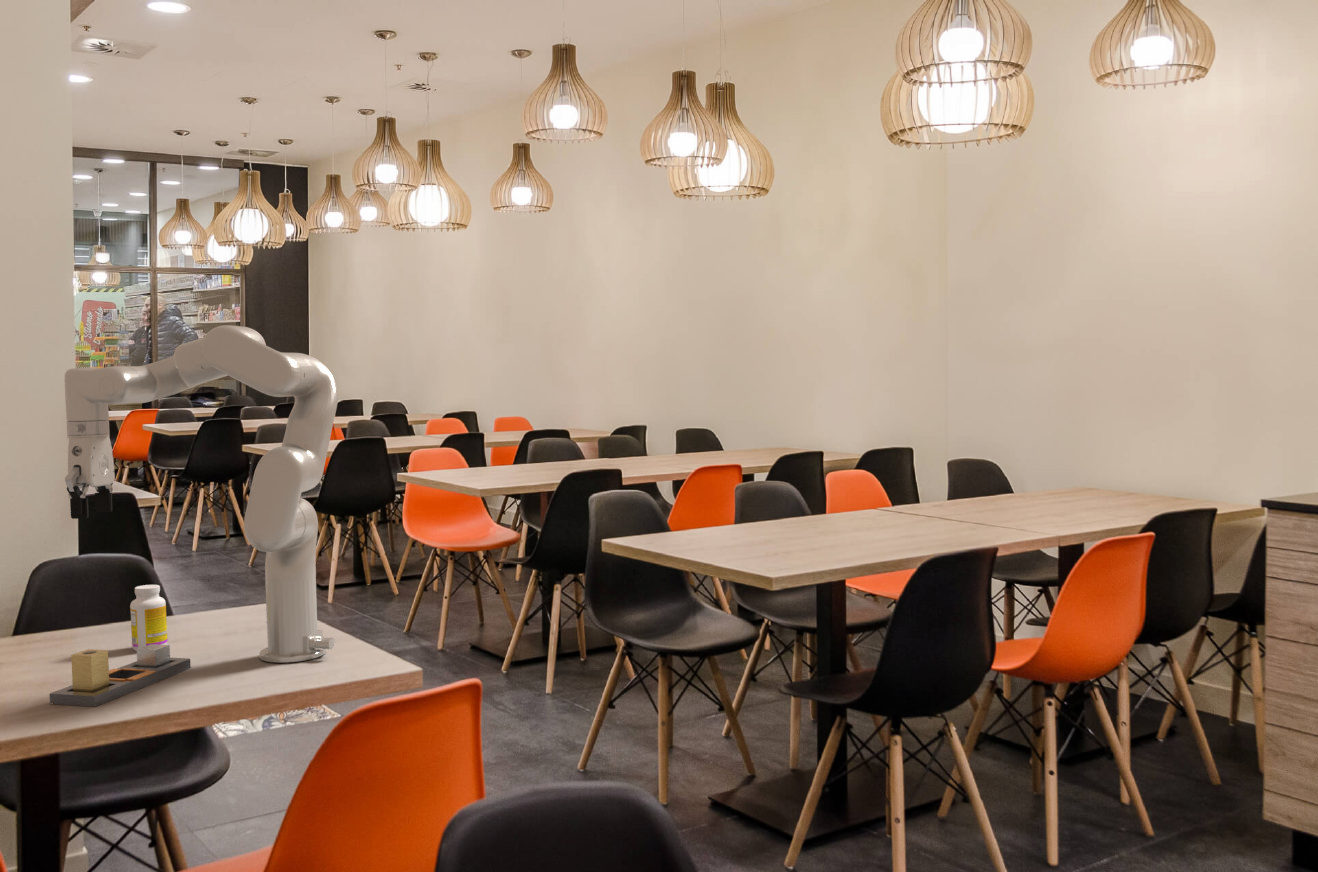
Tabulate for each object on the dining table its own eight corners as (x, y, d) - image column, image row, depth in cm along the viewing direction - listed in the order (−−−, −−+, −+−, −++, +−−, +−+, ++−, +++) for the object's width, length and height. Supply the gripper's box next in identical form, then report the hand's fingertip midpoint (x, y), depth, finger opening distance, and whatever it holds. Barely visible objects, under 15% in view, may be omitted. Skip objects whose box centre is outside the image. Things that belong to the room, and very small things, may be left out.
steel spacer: (170, 671, 207) (169, 645, 207) (156, 676, 203) (155, 650, 203) (152, 670, 208) (151, 644, 208) (137, 675, 204) (136, 649, 204)
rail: (190, 667, 209) (190, 657, 209) (94, 706, 185) (94, 694, 185) (150, 665, 211) (149, 655, 211) (50, 703, 187) (49, 692, 187)
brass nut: (109, 695, 192) (107, 649, 191) (93, 701, 188) (91, 655, 187) (90, 693, 192) (88, 648, 192) (73, 700, 189) (71, 654, 188)
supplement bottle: (174, 644, 228) (171, 583, 227) (156, 652, 221) (154, 589, 221) (143, 644, 229) (141, 583, 228) (125, 652, 222) (122, 589, 221)
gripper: (85, 431, 209) (89, 520, 210) (127, 427, 227) (130, 509, 227) (45, 432, 209) (50, 521, 210) (90, 428, 226) (94, 510, 227)
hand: (92, 515), depth 219 cm, fingers open, 9 cm apart
